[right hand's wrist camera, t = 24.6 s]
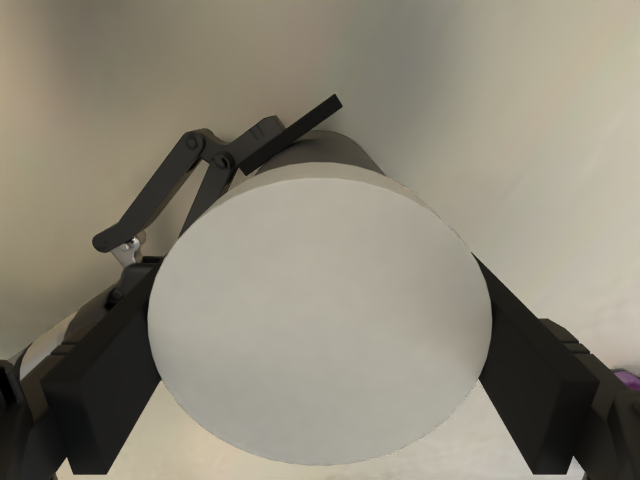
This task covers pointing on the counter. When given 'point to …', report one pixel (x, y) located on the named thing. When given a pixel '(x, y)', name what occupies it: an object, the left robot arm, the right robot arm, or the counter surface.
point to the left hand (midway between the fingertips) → (382, 172)
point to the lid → (319, 316)
